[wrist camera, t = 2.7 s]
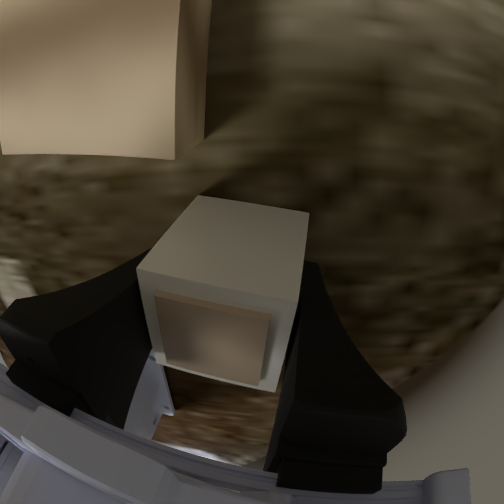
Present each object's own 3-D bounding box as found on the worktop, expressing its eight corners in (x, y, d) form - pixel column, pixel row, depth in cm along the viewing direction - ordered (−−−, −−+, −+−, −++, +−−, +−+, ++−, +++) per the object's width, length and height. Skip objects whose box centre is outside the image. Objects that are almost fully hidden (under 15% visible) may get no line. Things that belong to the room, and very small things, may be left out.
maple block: (207, 137, 11) (174, 159, 9) (45, 134, 13) (2, 154, 10) (224, -74, 6) (195, -106, 4) (47, -27, 7) (2, -30, 5)
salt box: (292, 299, 14) (273, 398, 10) (199, 281, 15) (153, 368, 11) (309, 212, 12) (297, 308, 7) (198, 195, 12) (131, 273, 8)
